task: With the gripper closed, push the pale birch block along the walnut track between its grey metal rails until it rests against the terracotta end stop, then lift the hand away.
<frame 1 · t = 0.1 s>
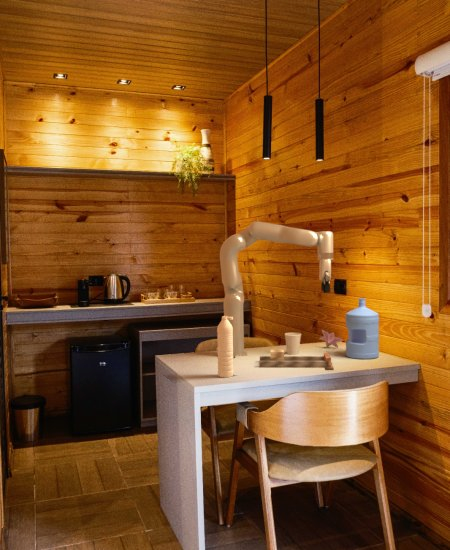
hand: (325, 291, 273), 31 cm above the table, tool pointing down, fingers open, 9 cm apart
water jug: (362, 356, 271), on the table
birch block: (277, 364, 251), point 1 cm above the table, touching track
dixie cup: (293, 354, 281), on the table
water bottle: (227, 376, 233), on the table
track: (295, 366, 250), on the table
lily: (330, 348, 294), on the table
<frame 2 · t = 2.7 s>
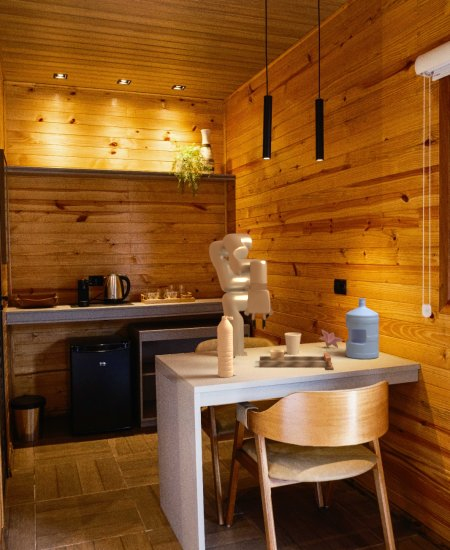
hand: (259, 328, 251), 17 cm above the table, tool pointing down, fingers open, 3 cm apart
nothing on the table moved.
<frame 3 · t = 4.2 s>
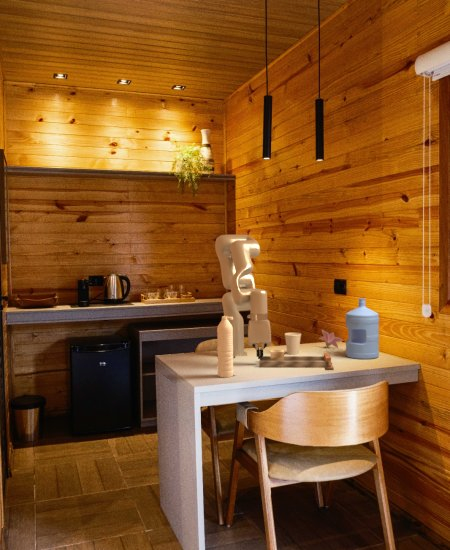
hand: (260, 358, 251), 4 cm above the table, tool pointing down, fingers closed
nothing on the table moved.
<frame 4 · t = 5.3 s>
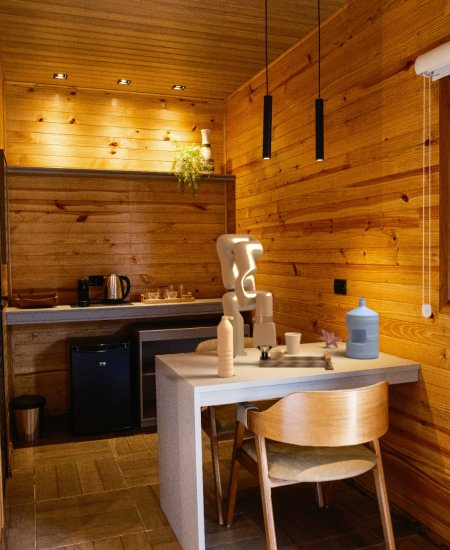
hand: (264, 360, 251), 3 cm above the table, tool pointing down, fingers closed
birch block: (277, 364, 251), point 1 cm above the table, touching gripper
everything else where it was.
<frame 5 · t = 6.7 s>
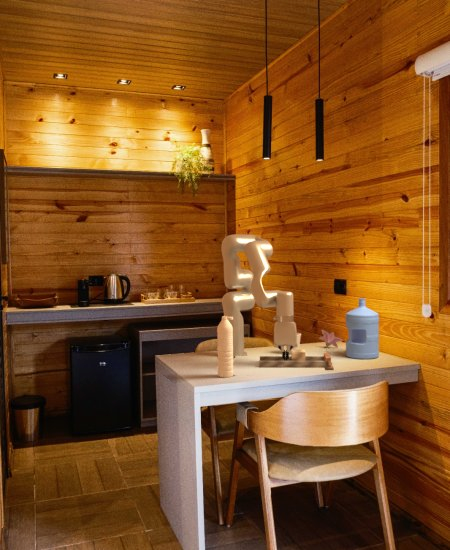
hand: (285, 360, 250), 3 cm above the table, tool pointing down, fingers closed
birch block: (298, 364, 250), point 1 cm above the table, touching gripper, track
everything else where it was.
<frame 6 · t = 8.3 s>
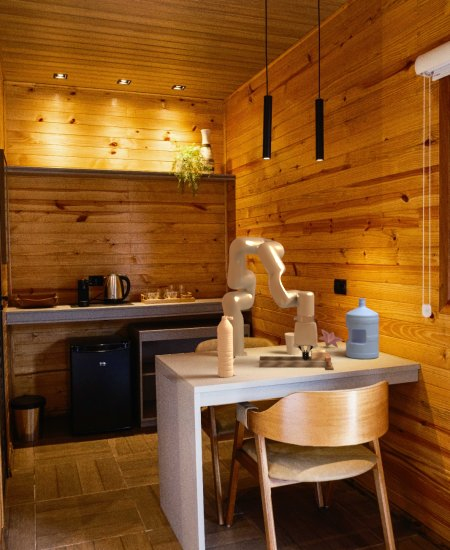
hand: (305, 360, 249), 3 cm above the table, tool pointing down, fingers closed
birch block: (318, 364, 249), point 1 cm above the table, touching gripper, track
everything else where it was.
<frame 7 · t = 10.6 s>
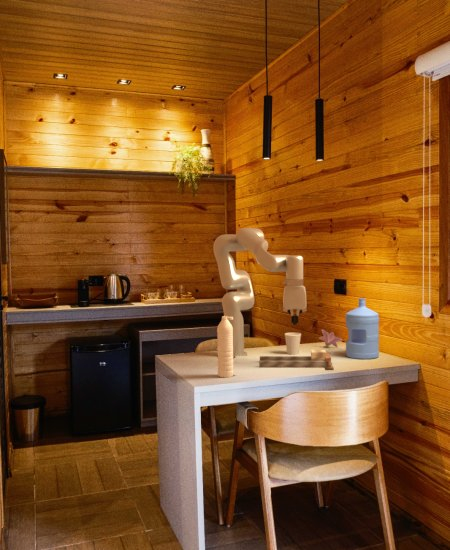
hand: (294, 324, 250), 19 cm above the table, tool pointing down, fingers closed
birch block: (318, 364, 249), point 1 cm above the table, touching track
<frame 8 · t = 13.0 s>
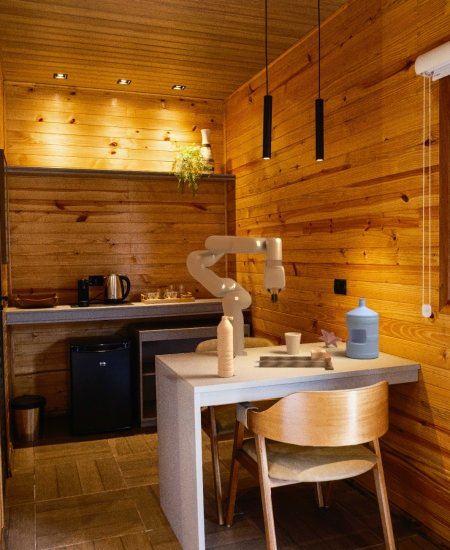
hand: (274, 302, 266), 27 cm above the table, tool pointing down, fingers closed
at the end: birch block 1.0 cm from the target spot on the track, point 1.0 cm above the track's base; birch block tilted 0° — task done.
